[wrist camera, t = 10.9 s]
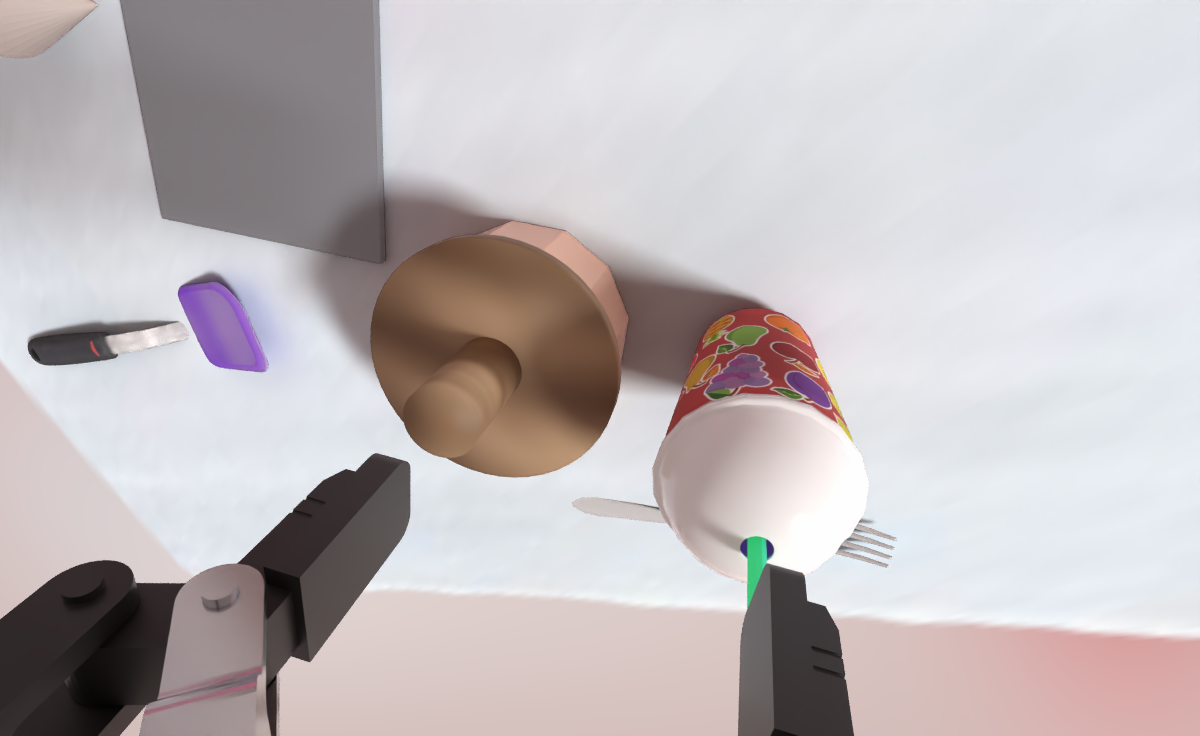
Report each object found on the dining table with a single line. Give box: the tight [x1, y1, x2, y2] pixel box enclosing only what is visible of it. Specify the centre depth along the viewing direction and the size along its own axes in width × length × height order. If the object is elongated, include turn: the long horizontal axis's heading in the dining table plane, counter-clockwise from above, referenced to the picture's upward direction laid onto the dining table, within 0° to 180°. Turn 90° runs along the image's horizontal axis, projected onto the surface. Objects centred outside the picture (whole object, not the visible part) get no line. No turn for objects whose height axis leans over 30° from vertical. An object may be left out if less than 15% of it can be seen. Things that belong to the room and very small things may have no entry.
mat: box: [121, 0, 386, 264], centre depth 37 cm, size 16×16×1 cm
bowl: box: [480, 221, 629, 361], centre depth 36 cm, size 12×12×6 cm
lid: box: [370, 234, 621, 477], centre depth 31 cm, size 14×14×7 cm
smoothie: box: [653, 308, 869, 608], centre depth 28 cm, size 8×8×20 cm
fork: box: [572, 497, 897, 568], centre depth 42 cm, size 3×24×2 cm, turn 92°
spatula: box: [28, 281, 269, 372], centre depth 46 cm, size 24×7×2 cm, turn 102°
